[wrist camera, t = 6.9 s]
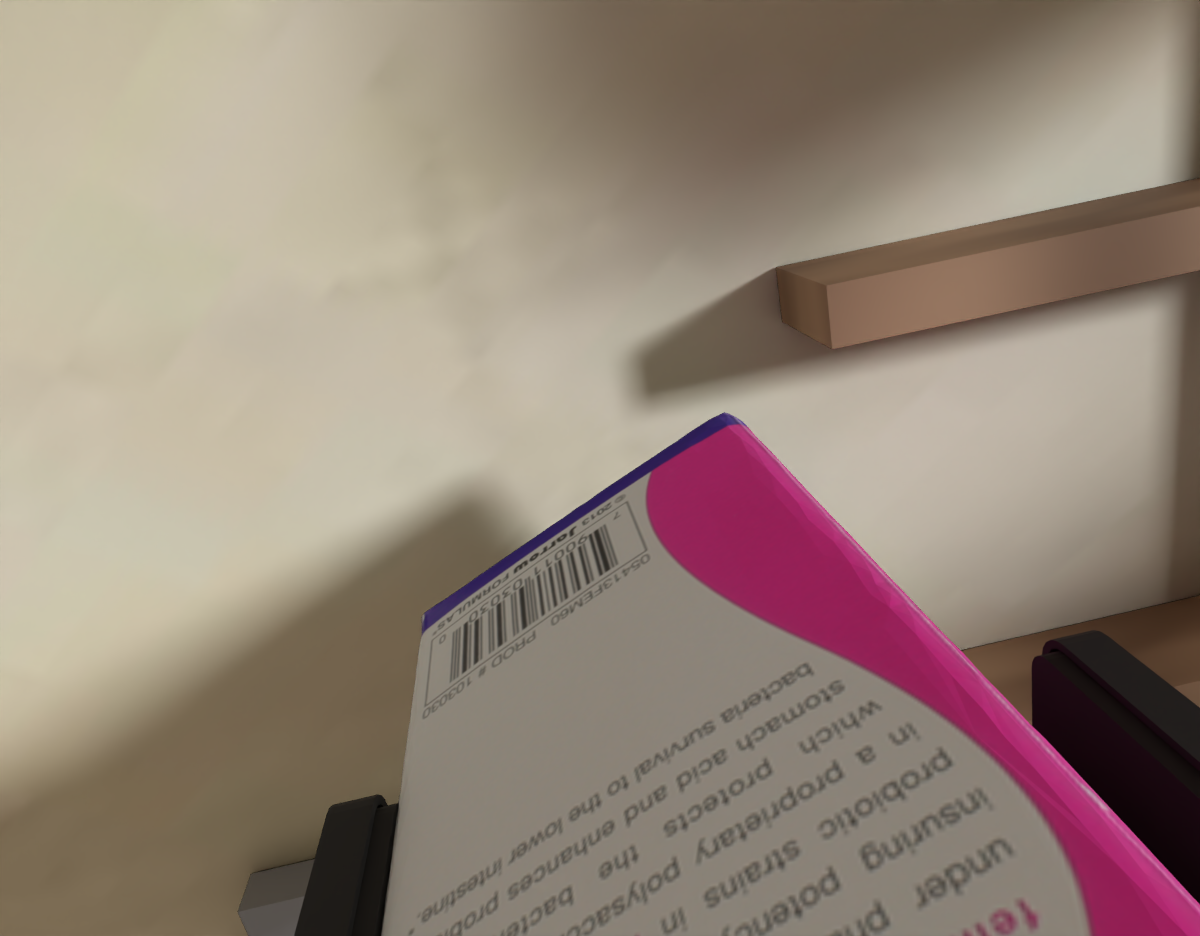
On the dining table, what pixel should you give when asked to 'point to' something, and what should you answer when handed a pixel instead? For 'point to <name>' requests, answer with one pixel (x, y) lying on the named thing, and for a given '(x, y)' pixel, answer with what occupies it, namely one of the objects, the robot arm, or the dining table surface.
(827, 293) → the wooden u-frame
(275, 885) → the slate board
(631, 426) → the dining table surface
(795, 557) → the supplement box
